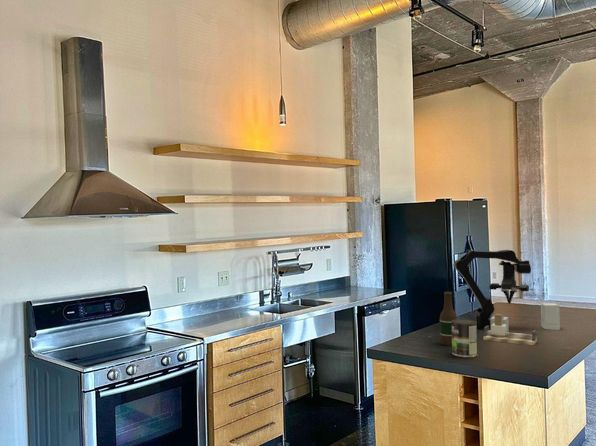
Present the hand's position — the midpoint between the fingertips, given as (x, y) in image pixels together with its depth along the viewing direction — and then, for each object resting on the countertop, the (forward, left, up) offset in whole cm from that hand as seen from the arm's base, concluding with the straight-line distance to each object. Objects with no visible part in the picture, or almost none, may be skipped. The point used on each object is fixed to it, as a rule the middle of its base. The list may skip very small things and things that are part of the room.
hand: (509, 303), depth 265 cm
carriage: (0, -28, -10) cm, 30 cm away
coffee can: (-7, -63, -13) cm, 65 cm away
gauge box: (-2, -15, -13) cm, 20 cm away
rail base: (+5, -28, -13) cm, 31 cm away
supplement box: (+18, +10, -13) cm, 24 cm away
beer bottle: (-18, -48, -13) cm, 53 cm away
